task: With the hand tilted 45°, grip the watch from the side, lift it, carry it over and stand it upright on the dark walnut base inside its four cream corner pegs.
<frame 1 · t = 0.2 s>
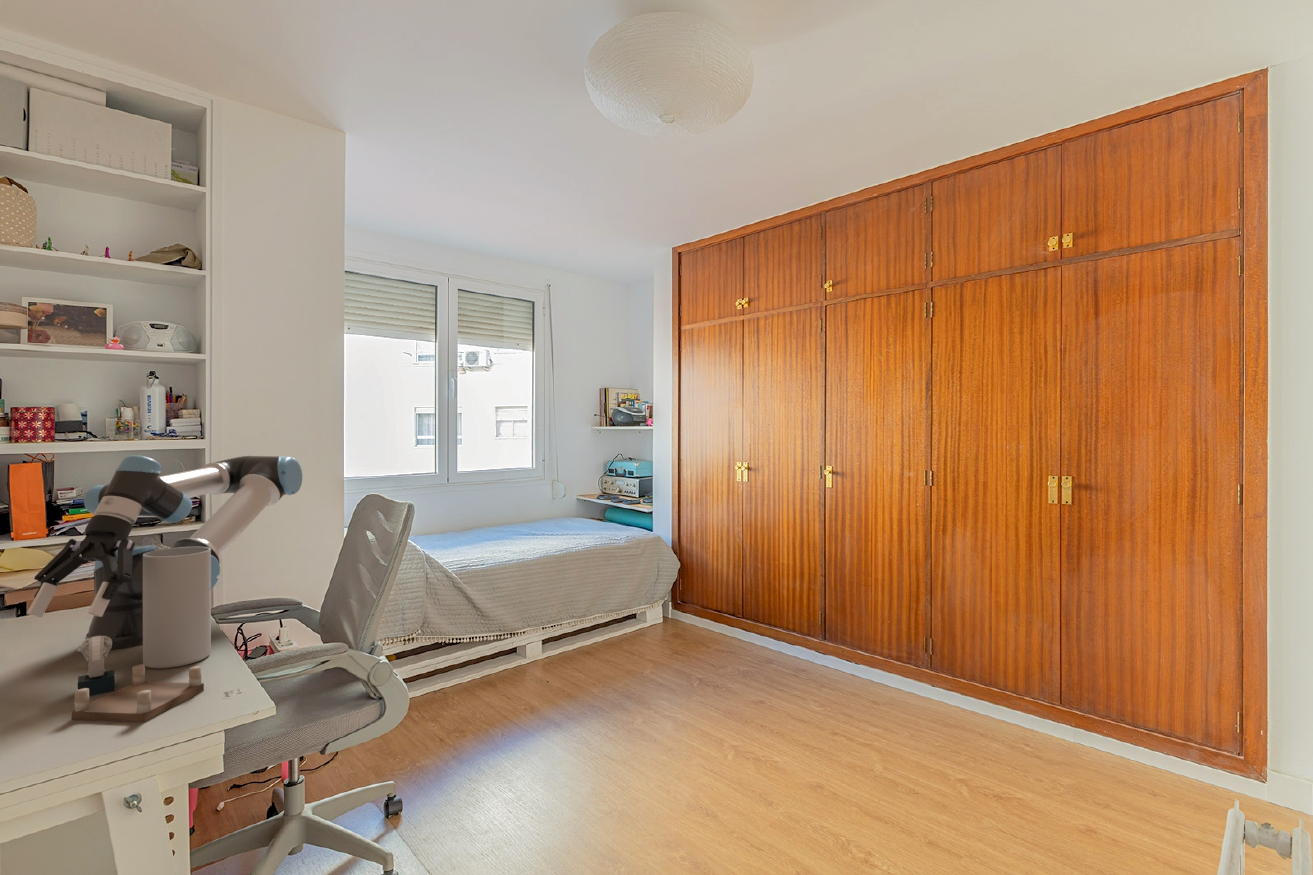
hand: (64, 615, 130), 15 cm above the table, tool tilted 35°, fingers open, 13 cm apart
watch: (96, 692, 128), on the table
cylinder vase: (177, 660, 146), on the table
peg base: (141, 704, 122), on the table
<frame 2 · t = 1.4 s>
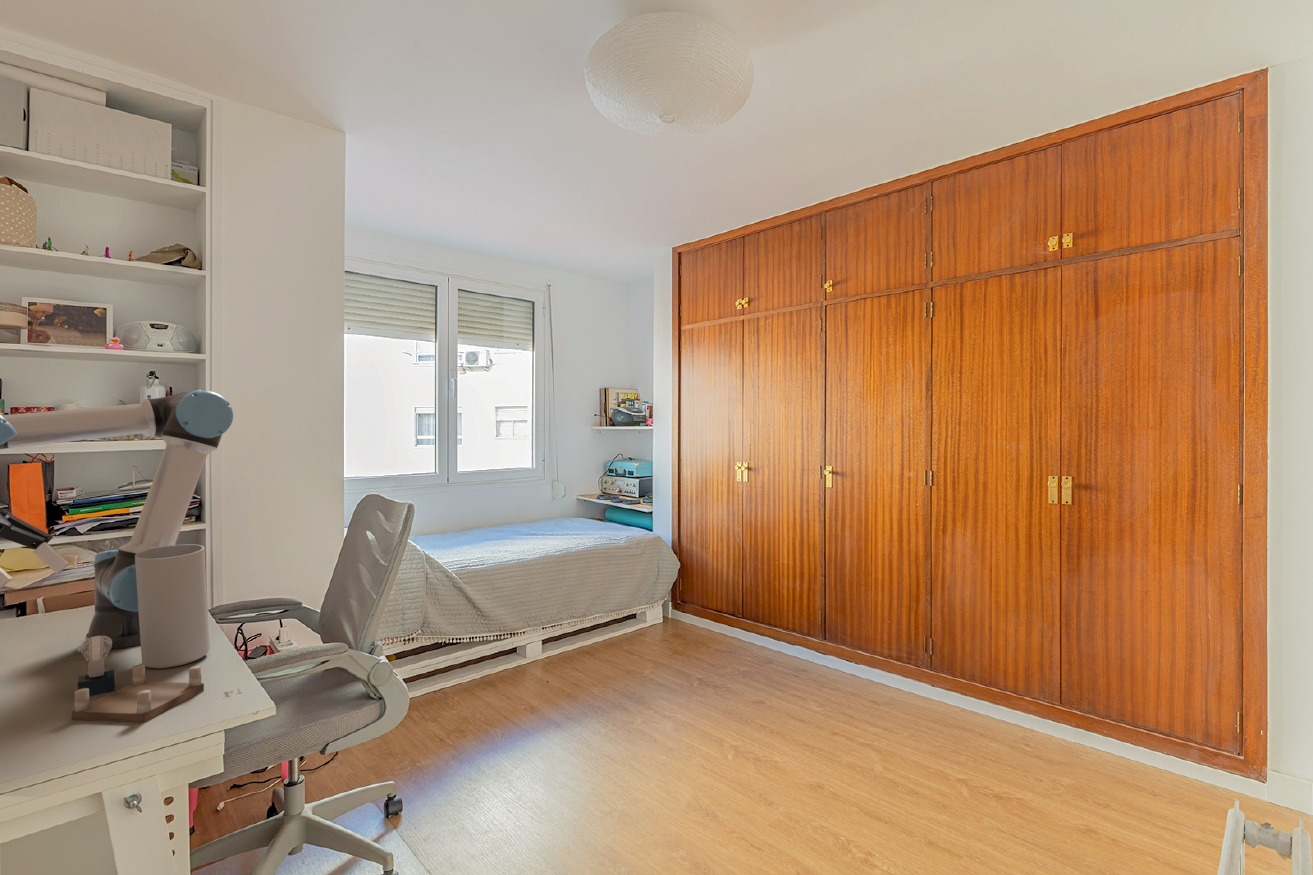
hand: (36, 576, 127), 24 cm above the table, tool tilted 45°, fingers open, 13 cm apart
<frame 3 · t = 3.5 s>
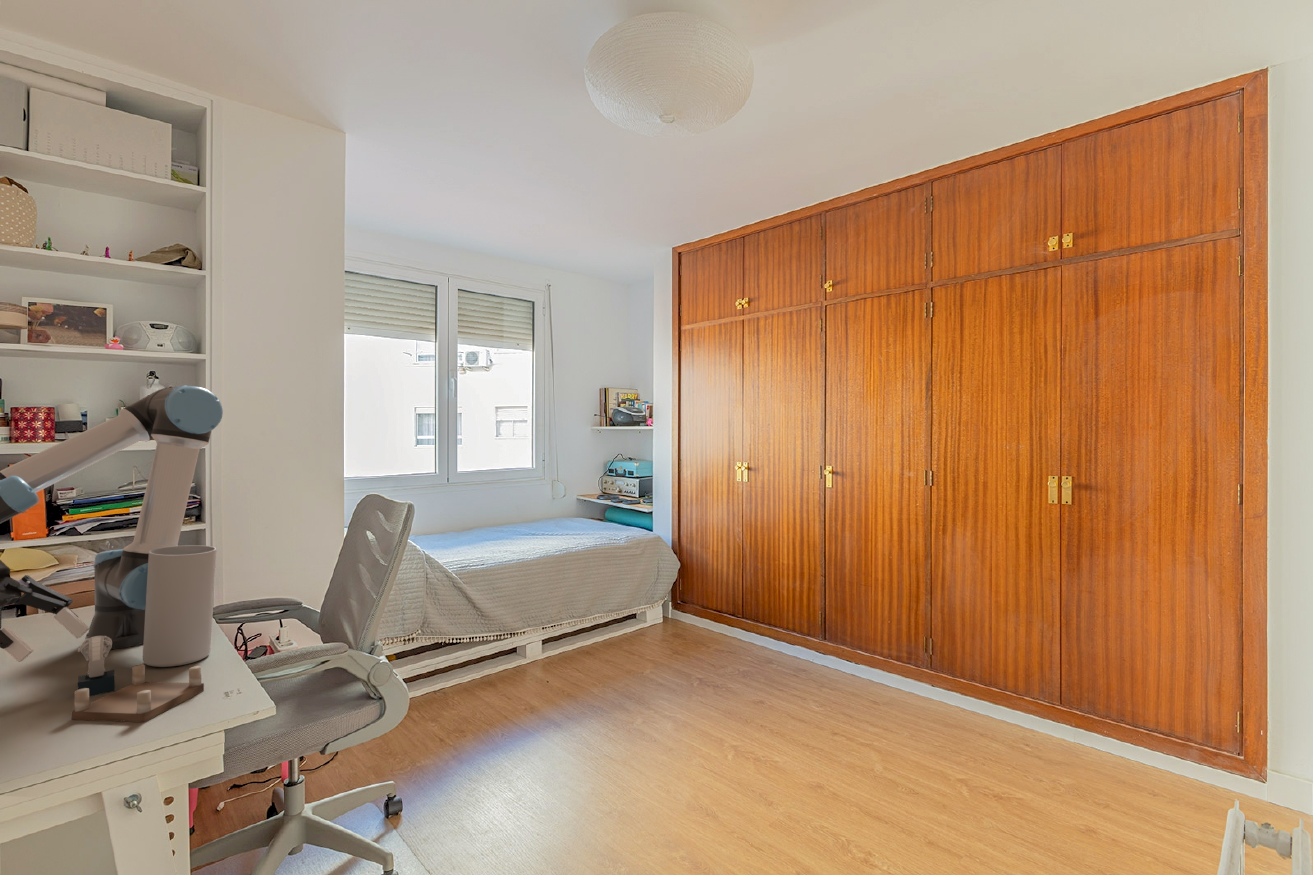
hand: (56, 644, 126), 10 cm above the table, tool tilted 45°, fingers open, 13 cm apart
cylinder vase: (177, 659, 146), on the table, touching arm
everything else where it was.
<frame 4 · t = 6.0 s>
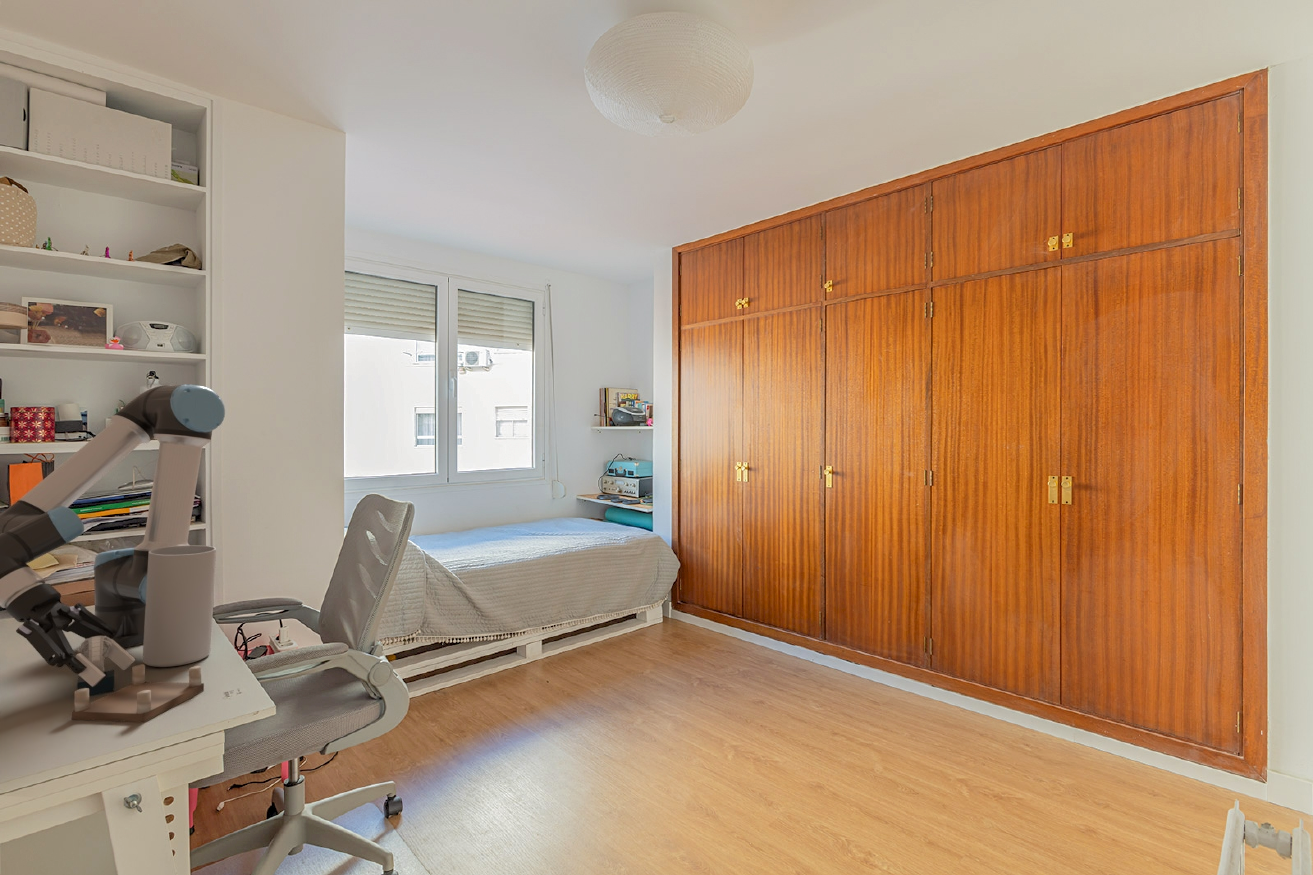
hand: (114, 672, 129), 4 cm above the table, tool tilted 45°, fingers closed on watch, 8 cm apart
watch: (95, 692, 128), on the table, touching gripper
everything else where it was.
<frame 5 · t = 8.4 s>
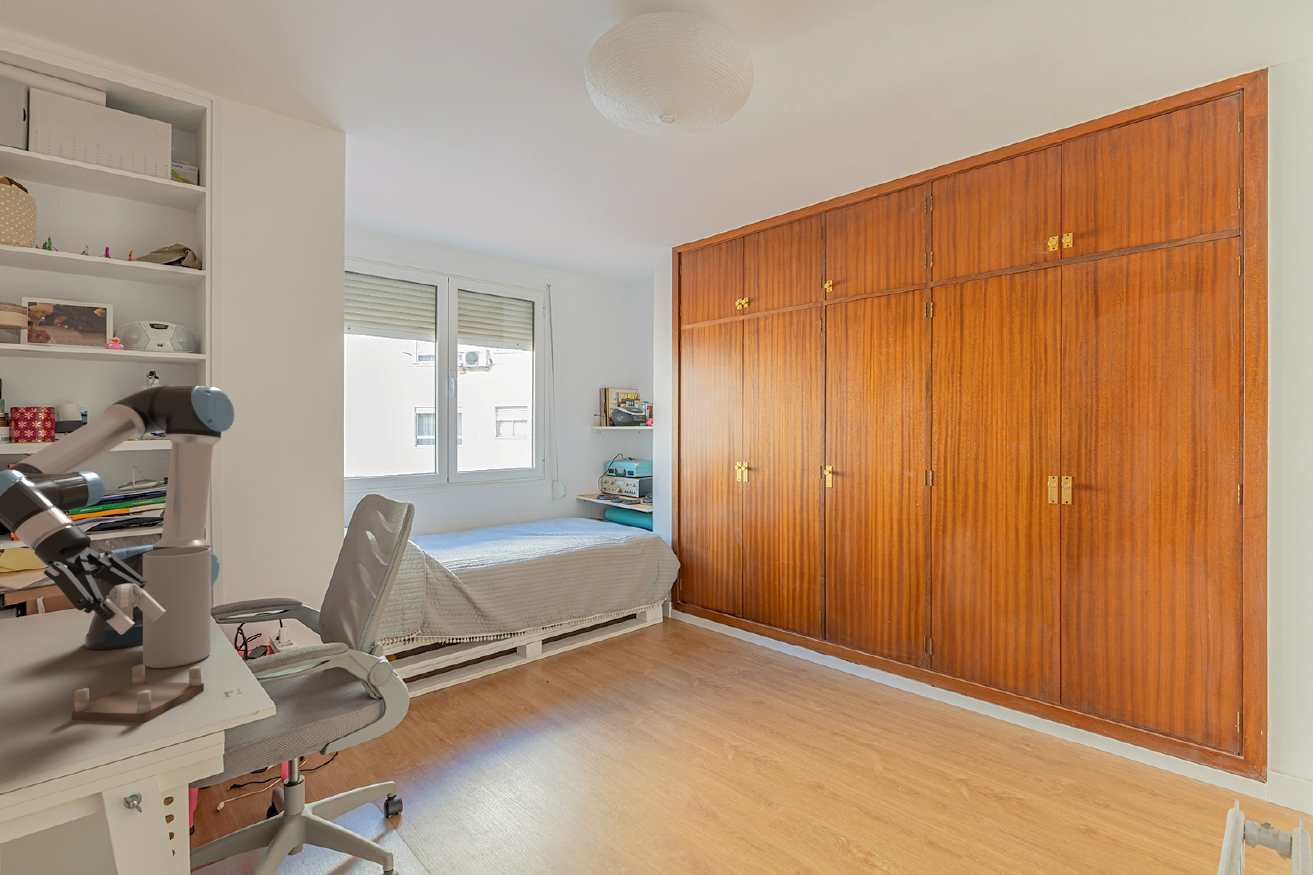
hand: (144, 622, 122), 16 cm above the table, tool tilted 45°, fingers closed on watch, 8 cm apart
watch: (123, 642, 121), point 12 cm above the table, touching gripper
cylinder vase: (177, 660, 146), on the table
when the fingers open (7 cm above the table, at t = 11.1 s): watch drops 1 cm, resting on peg base.
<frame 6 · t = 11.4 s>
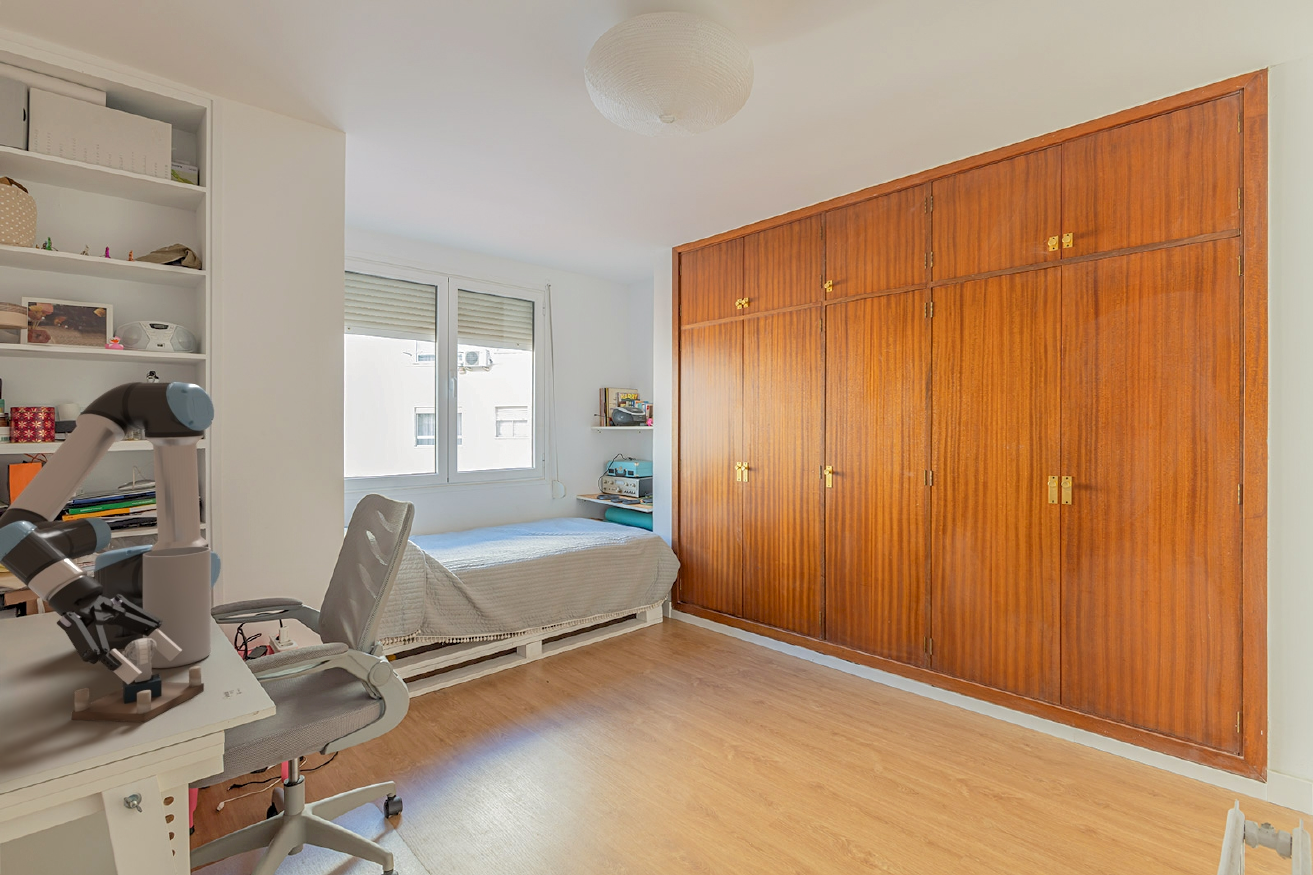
hand: (156, 666, 123), 7 cm above the table, tool tilted 45°, fingers open, 11 cm apart
watch: (141, 697, 122), point 1 cm above the table, touching peg base
everything else where it was.
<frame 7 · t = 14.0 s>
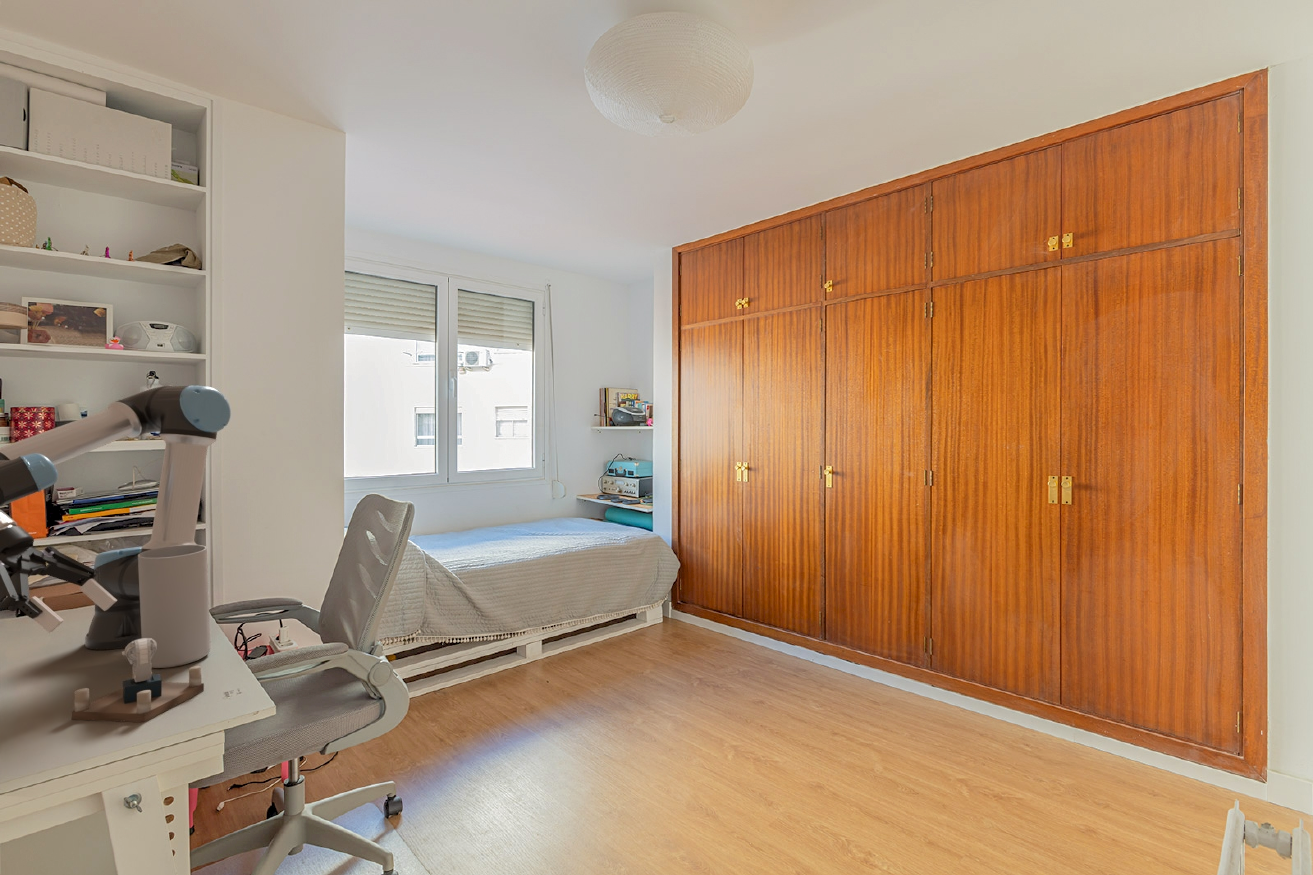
hand: (85, 615, 121), 17 cm above the table, tool tilted 45°, fingers open, 13 cm apart
cylinder vase: (177, 658, 146), on the table, touching arm
everything else where it was.
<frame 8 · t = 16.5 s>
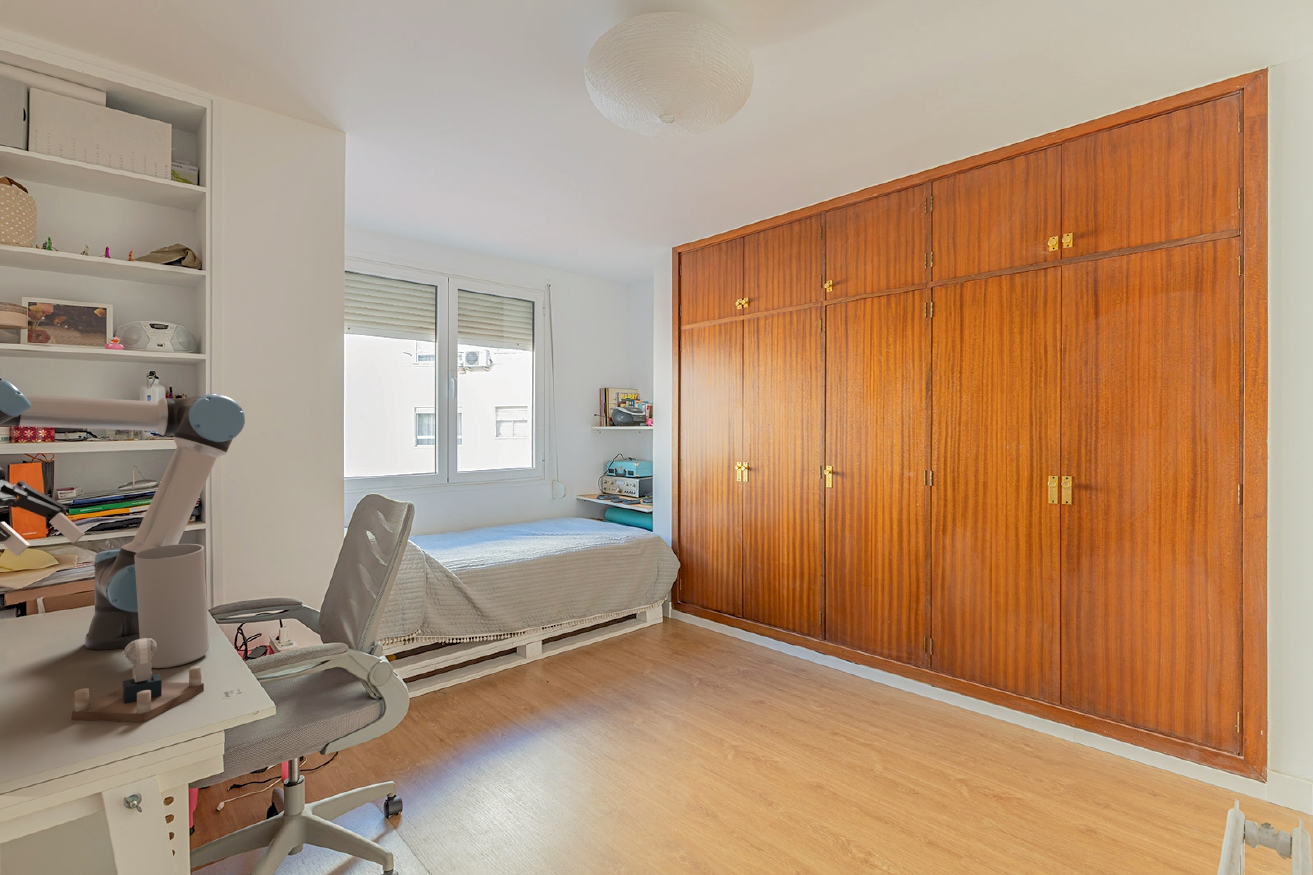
hand: (52, 544, 129), 30 cm above the table, tool tilted 45°, fingers open, 13 cm apart
at the end: watch 0.1 cm off-centre on the peg base, point 1.3 cm above the peg base's base; watch tilted 0°; the gripper is holding nothing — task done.
